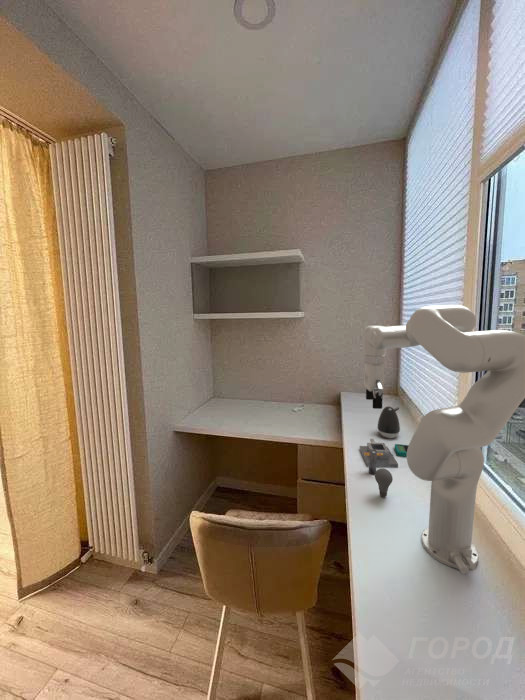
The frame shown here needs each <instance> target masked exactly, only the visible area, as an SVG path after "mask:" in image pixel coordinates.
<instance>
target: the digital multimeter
mask: <svg viewBox="0 0 525 700" xmlns="http://www.w3.org/2000/svg"><path fill="white" fill-rule="evenodd" d="M408 446H409V444H408V445H407V444H402V443H401V444H398V443H394V447H393V448H394V453H395V454H396V456H397V457H401V458H403V457H404V458H407V449H408Z"/></svg>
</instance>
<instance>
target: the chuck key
mask: <svg viewBox="0 0 525 700" xmlns="http://www.w3.org/2000/svg"><path fill="white" fill-rule="evenodd" d="M364 455H365V456H369V467H368V474H370V475H374V476H375V473H376V471H377V467H376V465H377V456H383V453H377V451H376V450H369V453H365V452H364Z"/></svg>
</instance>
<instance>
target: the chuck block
mask: <svg viewBox="0 0 525 700" xmlns="http://www.w3.org/2000/svg"><path fill="white" fill-rule="evenodd" d="M369 441H370V442H366V445H359V452H360V453H361V456H362V458H363V460H364V462H365V465H366V467H368V468H369V456H365V455H364V452H365V453H369V450H376V451H377V453H383V456H377V465H376V468H399V463H398V461H397V460H396V458H395V456H394V455H393V454H392V452H391V450H390V449H389V446H387V445H386V444H385V443H384V442H375V440H374V438H370V439H369Z"/></svg>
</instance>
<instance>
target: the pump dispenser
mask: <svg viewBox="0 0 525 700" xmlns="http://www.w3.org/2000/svg"><path fill="white" fill-rule="evenodd" d="M399 410H400V407H396V408H393V406H384V408H382V410H381V412H380V415H379V418H378V420H377V421H378V422H377V430H378V432H379V434H380V435H381V436H382V437H383V438H386V439H394V438H397V437H398V435H399V433H400V431H401V425H400V419H399V416H398V413H397V411H399Z"/></svg>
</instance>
